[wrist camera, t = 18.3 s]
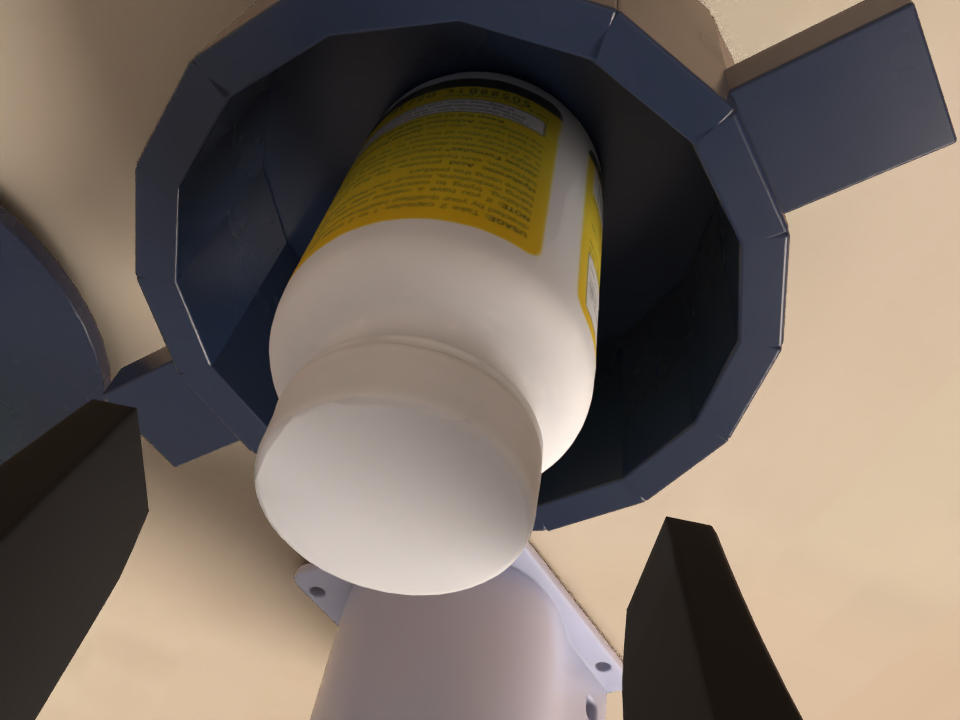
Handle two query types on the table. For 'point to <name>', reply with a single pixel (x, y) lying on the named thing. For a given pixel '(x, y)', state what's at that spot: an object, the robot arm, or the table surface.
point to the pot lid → (42, 341)
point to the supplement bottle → (437, 340)
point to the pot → (626, 181)
